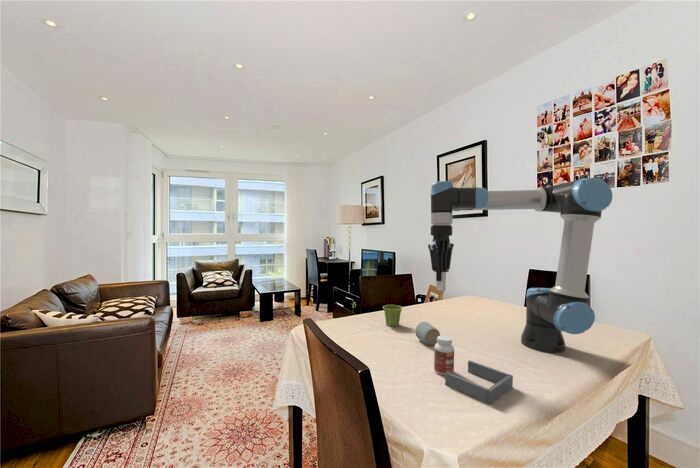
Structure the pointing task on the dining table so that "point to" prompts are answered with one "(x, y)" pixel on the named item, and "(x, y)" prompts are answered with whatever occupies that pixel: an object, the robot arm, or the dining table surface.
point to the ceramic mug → (427, 333)
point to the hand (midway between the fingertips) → (440, 289)
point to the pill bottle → (444, 355)
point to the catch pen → (479, 392)
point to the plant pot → (392, 314)
